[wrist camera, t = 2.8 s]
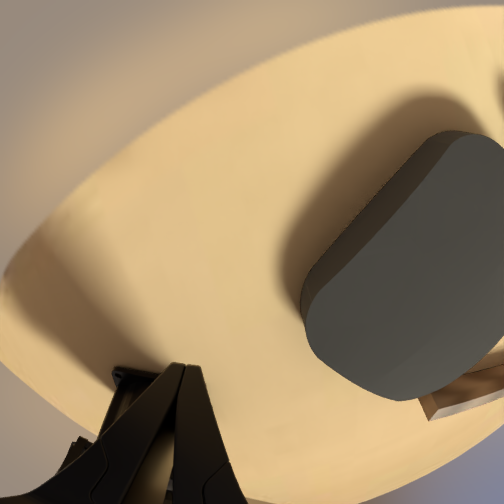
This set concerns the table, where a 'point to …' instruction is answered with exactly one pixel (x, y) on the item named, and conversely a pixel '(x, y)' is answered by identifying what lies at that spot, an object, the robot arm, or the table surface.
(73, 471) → the robot arm
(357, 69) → the table surface
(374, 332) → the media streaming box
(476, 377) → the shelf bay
